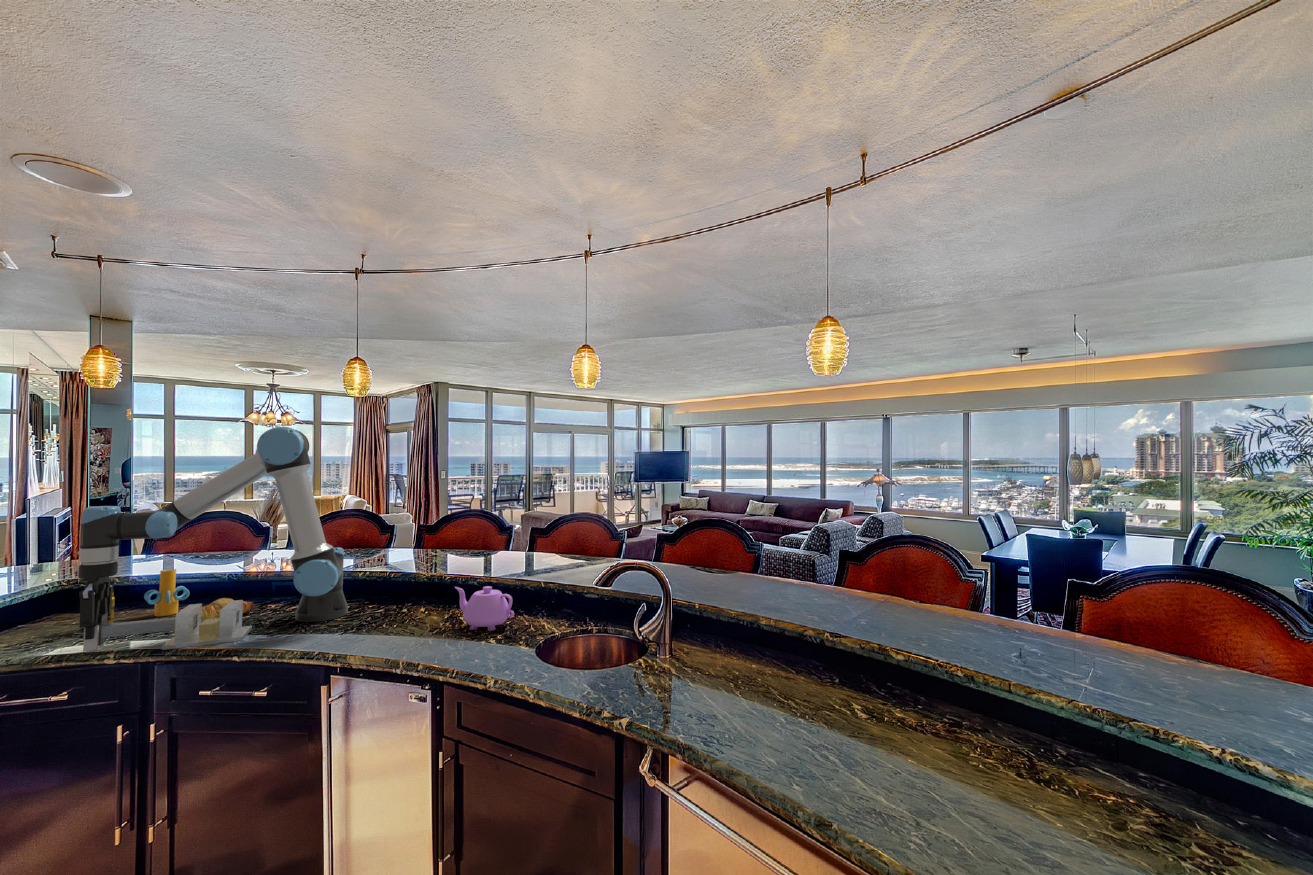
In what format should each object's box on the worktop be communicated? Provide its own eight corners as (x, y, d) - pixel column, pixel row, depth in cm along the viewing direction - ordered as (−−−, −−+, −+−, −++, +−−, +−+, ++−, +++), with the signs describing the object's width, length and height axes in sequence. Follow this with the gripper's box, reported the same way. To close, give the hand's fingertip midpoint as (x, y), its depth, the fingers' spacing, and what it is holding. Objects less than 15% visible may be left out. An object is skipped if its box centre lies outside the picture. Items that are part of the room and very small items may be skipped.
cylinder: (158, 620, 174) (160, 574, 175) (133, 618, 176) (136, 573, 177) (197, 610, 186) (199, 567, 187) (173, 608, 188) (175, 566, 189)
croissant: (186, 640, 166) (194, 618, 165) (168, 622, 169) (176, 600, 168) (257, 619, 186) (264, 600, 185) (240, 604, 189) (247, 585, 188)
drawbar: (195, 632, 156) (196, 604, 157) (191, 635, 154) (193, 607, 154) (90, 643, 146) (91, 614, 147) (84, 647, 143) (85, 617, 144)
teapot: (443, 631, 164) (444, 591, 165) (464, 618, 178) (465, 580, 179) (505, 634, 162) (505, 593, 163) (521, 620, 176) (522, 582, 177)
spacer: (205, 632, 159) (222, 631, 161) (198, 638, 153) (216, 636, 155) (205, 619, 159) (222, 617, 161) (199, 624, 154) (216, 623, 155)
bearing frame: (251, 628, 166) (253, 598, 166) (242, 640, 155) (243, 608, 156) (177, 636, 158) (179, 605, 158) (161, 649, 147) (163, 615, 148)
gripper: (95, 558, 152) (90, 641, 151) (63, 568, 138) (58, 660, 136) (129, 556, 156) (125, 637, 154) (102, 566, 141) (98, 655, 140)
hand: (94, 647), depth 145 cm, fingers closed on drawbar, 3 cm apart
